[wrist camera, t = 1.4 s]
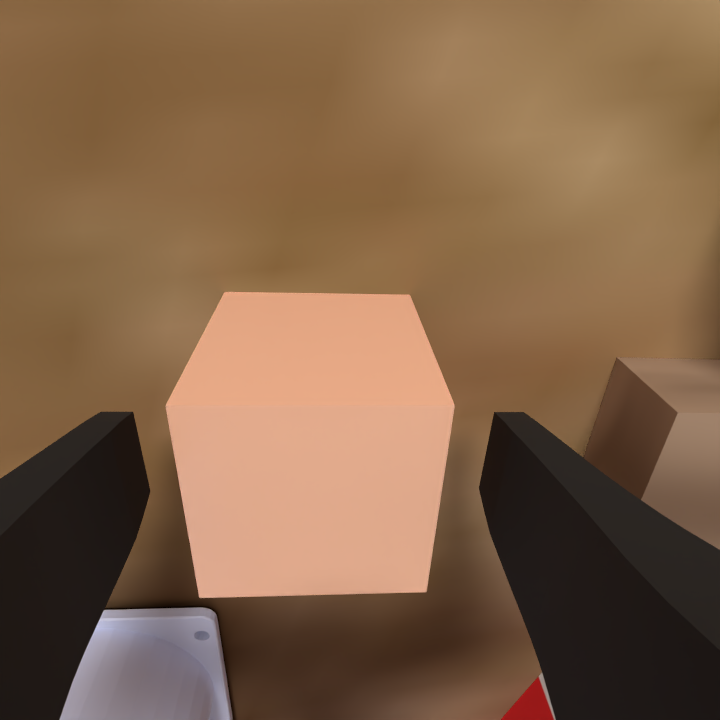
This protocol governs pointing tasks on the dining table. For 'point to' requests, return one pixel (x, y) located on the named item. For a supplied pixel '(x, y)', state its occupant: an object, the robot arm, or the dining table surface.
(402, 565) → the peach block
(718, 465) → the wood slab
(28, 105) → the dining table surface
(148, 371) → the dining table surface
